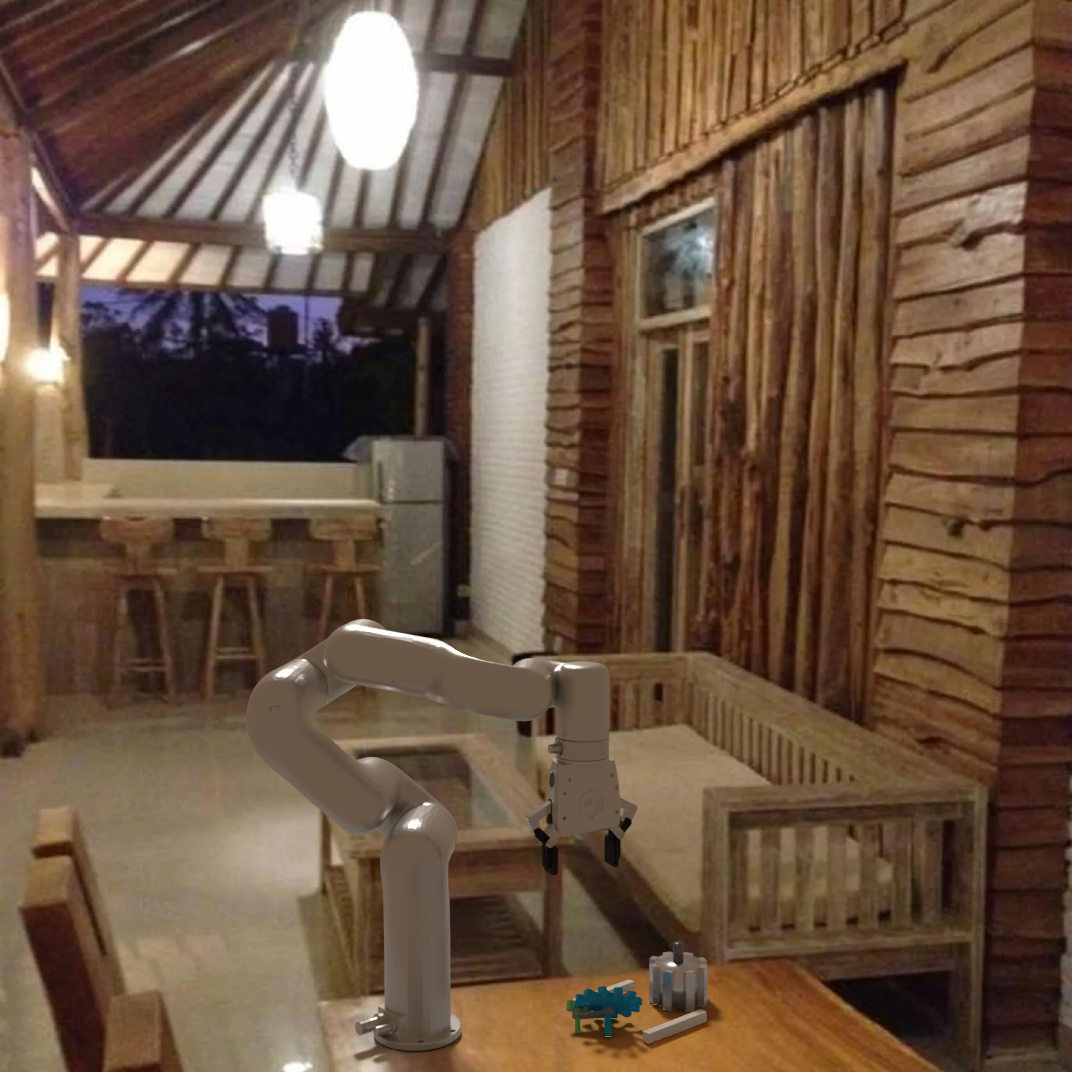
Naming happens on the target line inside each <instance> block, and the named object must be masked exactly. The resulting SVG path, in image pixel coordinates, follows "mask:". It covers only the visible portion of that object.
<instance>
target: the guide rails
mask: <svg viewBox="0 0 1072 1072" xmlns="http://www.w3.org/2000/svg"><path fill="white" fill-rule="evenodd" d="M606 987H607V990H608V991H609V992H611V993H614V987H622V988H623V993H624V992H627V991H630V990H634V989H635V987H636V985H635V981H634V980H632V979H626V980H624V981H620V982H617V983H615V984H612V985H609V986H606ZM594 991H595V992H598V989H597V990H594ZM571 1000H573V1001H576V997H575V998H574V997H573V998H572V999H571ZM707 1013H708V1012H707V1011H706V1010H704V1009H701V1008H700V1009H698V1010H694V1011H692V1012H688V1013H686V1014H684V1015H682V1016H679V1017H677V1018H674V1019H672V1020H669V1021H666V1022H664V1023H662V1024H658V1025H656V1026H654V1027H651V1028H647V1029H646V1030H642V1041H643V1040H644V1041H645V1042H648V1043H651V1042H653V1043H655V1042H654V1041H656V1040H659V1039H661V1040H663V1039H662V1038H664V1037H666V1038H668V1036H669V1037H671V1036H673V1034H674V1035H676V1034H679V1033H681V1032H683V1031H687V1030H689V1029H691V1028H695V1027H697V1026H699V1025H702V1024H704V1023H706V1022H708V1021H707V1018H708V1017H707V1016H708V1015H707ZM664 1039H665V1038H664ZM659 1041H660V1040H659ZM645 1042H644V1043H645ZM656 1042H657V1041H656ZM651 1044H652V1043H651Z"/></svg>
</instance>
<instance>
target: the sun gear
mask: <svg viewBox="0 0 1072 1072" xmlns="http://www.w3.org/2000/svg"><path fill="white" fill-rule="evenodd" d="M684 945H685V944H684V941H682V940H681V941H680V940H675V941H673V942H672V951H665V952H662V954H661V955H659V956H656V955H651V956H650V958H649V959H648V960H649V961H648V963H649V964H648V965H649V966H648V967H649V969H648V971H649V972H648V974H649V976H648V977H649V978H648V987H649V988H648V990H649V991H648V993H649V994H648V995H649V997H648V999H649V1000H648V1002H649V1001H650V1002H651V1003H652V1004H657V1005H656V1006H659V1005H661V1006H663V1007H662V1010H663V1009H665V1010H667V1011H666V1012H669V1011H671V1013H673V1011H674V1009H677V1010H676V1011H684V1012H685V1013H692V1012H695V1009H696V1008H698V1007H700V1008H705V1007H707V1005H708V979H709V978H708V971H709V970H708V968H709V967H708V960H707V959H706V958H705V957H696V956H694V953H693V952H688V951H687V952H686V951H685V950H684V948H685V947H684ZM658 1004H659V1005H658ZM661 1006H660V1007H661Z"/></svg>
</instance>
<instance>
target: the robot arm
mask: <svg viewBox="0 0 1072 1072" xmlns="http://www.w3.org/2000/svg"><path fill="white" fill-rule="evenodd" d="M610 683H611V679H610V670H609V668H608V667H607V666H606V665H605V664H603V663H601V662H594V661H570V662H562V661H553V660H550V659H544V658H543V659H541V658H535V657H529V658H527V657H526V658H524V659H521V660H518V661H517V662H515V663H514V664H513V665H510V664H504V663H499V662H493V661H488V660H483V659H480V658H476V657H472V656H469V655H467V654H464V653H462V652H460V651H458V650H456V649H455V648H453V647H452V646H451V645H450V644H448V643H447V642H445V641H442V640H440V639H438V638H431V637H425V636H420V635H414V634H411V633H403V632H399V631H393V630H389V629H387V628H385V626H383V625H382V624H381V623H379V622H376V621H375V620H371V619H365V618H362V619H360V618H359V619H355V620H352V621H348V622H347V623H346V624H343V625H341V626H339V627H338V628H336V629H335V630H334V631H333V632H331V634H330V635H329V637H327V638H326V639H324V640H322V641H321V642H319V643H318V644H316V645H315V646H313V647H312V648H310V649H309V650H307V651H306V652H304V653H302V654H299V656H297V657H295V658H294V659H292V660H290V661H289V662H287V663H286V664H284V665H281V666H279V667H277V668H276V669H273V670H272V671H270V672H268V673H267V674H266V675H264V676H263V677H261V679H260V680H259V681H258V682H257V684H256V685H255V686H254V688H253V690H252V692H251V694H250V696H249V700H248V703H247V706H246V713H245V714H246V717H245V720H246V722H245V723H246V730H247V734H248V737H249V740H250V743H251V745H252V747H253V748H254V750H255V752H256V754H258V756H259V757H260V758H261V759H262V760H263V762H264V763H265V764H267V765H268V767H270V768H271V769H272V770H273V771H275V772H276V773H277V774H278V775H279V776H280V777H282V778H283V779H285V781H287V782H288V783H289V784H290V785H291V786H292V787H294V788H295V789H296V790H297V791H298V792H299V793H300V794H301V795H302V796H303V797H304V798H306V800H308V801H309V802H311V804H313V805H314V806H315V807H316V808H317V809H319V810H320V811H321V812H322V813H323V814H325V815H326V816H327V817H328V818H329V819H330V820H331V821H333V822H334V823H335V824H336V825H337V826H338V827H339V828H341V830H344V831H345V832H347V833H348V834H350V835H351V834H352V835H356V836H364V835H369V834H372V833H373V832H375V831H378V833H380V834H381V835H382V836H383V837H384V838H385V839H384V841H383V844H382V846H381V851H380V857H379V858H380V859H379V861H380V862H379V865H380V867H379V870H380V878H381V879H380V880H381V887H382V900H383V901H382V903H383V906H382V907H383V932H384V933H383V939H384V941H383V945H384V946H383V947H384V949H383V954H384V956H383V959H384V960H383V962H384V964H383V966H384V968H383V969H384V972H383V974H384V977H383V978H384V1003H383V1004H378V1006H377V1008H378V1009H377V1012H376V1013H374V1014H373V1017H369V1018H365V1019H361V1020H358V1021H356V1022H355V1025H354V1028H355V1032H356V1034H357V1035H358V1036H363V1035H365V1034H366V1035H367V1034H369V1033H373V1036H374V1038H375V1040H376V1041H377V1042H379V1044H381V1045H383V1046H385V1047H387V1048H390V1049H394V1050H398V1051H405V1052H408V1051H409V1052H421V1051H422V1052H424V1051H428V1050H435V1049H438V1048H439V1049H441V1048H442V1047H445V1046H448V1045H450V1044H451V1043H453V1042H455V1041H456V1040H457V1039H458V1038H459V1037H460V1036H461V1033H462V1022H461V1020H460V1019H459V1017H458V1016H456V1015H454V1014H453V1013H451V921H450V920H451V916H450V915H451V912H450V904H451V903H450V890H449V889H450V888H449V864H450V863H449V862H450V860H451V858H452V855H453V852H454V851H455V848H456V845H457V842H458V839H459V838H458V837H459V831H458V827H457V822H456V819H455V818H454V816H453V815H452V814H451V812H450V811H449V809H448V808H446V806H444V805H443V803H442V802H440V801H439V800H438V799H437V798H435V797H434V795H432V794H430V793H429V792H428V791H427V790H425V789H424V788H423V787H422V786H421V785H420V784H419V783H417V782H416V781H415V780H414V779H413V778H411V777H410V776H409V775H407V773H405V772H404V771H403V770H402V769H400V768H399V767H397V765H395V764H393V762H390V761H388V760H385V759H383V758H380V757H375V756H367V757H366V756H365V757H363V758H359V759H357V760H356V759H355V758H353V757H352V756H351V755H350V754H348V753H347V752H346V750H343V748H341V747H340V746H339V745H338V744H337V743H336V742H335V741H334V740H332V739H331V738H329V737H328V736H326V735H325V734H323V733H321V732H320V731H318V730H317V729H315V728H314V727H313V726H312V725H311V724H310V722H309V720H308V719H309V718H310V717H311V716H312V715H314V714H315V713H316V712H318V711H320V710H321V709H322V708H324V707H326V706H327V705H328V704H330V703H331V702H333V701H334V700H336V699H337V698H339V697H340V696H342V695H344V694H346V693H347V692H349V691H350V690H352V689H353V688H355V687H357V686H360V687H366V688H371V689H377V690H383V691H388V692H393V693H398V694H404V695H408V696H409V695H410V696H414V697H420V698H424V699H428V700H431V701H433V702H436V703H438V704H442V705H445V706H449V707H452V708H455V709H458V710H462V711H465V712H469V713H473V714H477V715H481V716H487V717H492V718H496V719H497V718H498V719H503V720H504V719H505V720H510V721H515V722H517V721H518V722H528V721H530V722H531V721H534V720H537V719H538V718H540V717H541V716H544V714H546V712H547V711H548V710H549V709H550V708H551V709H552V708H555V711H556V717H555V718H556V719H555V720H556V731H555V732H556V737H554V742H553V743H549V744H548V745H547V751H548V754H549V755H551V754H552V755H554V756H555V758H553V759H552V761H551V764H550V768H549V773H548V778H547V787H546V795H545V802H544V803H542V804H541V805H539V806H538V807H536V808H535V809H533V810H532V811H531V812H529V813H528V814H525V817H524V821H525V822H526V824H527V826H528V828H529V830H530V833H531V835H533V836H534V837H535V838H536V840H538V841H539V843H540V844H541V864H542V865H541V866H542V867H543V870H544V871H545V872H546V873H548V874H549V875H551V876H557V875H558V873H559V848H558V847H557V846H556V843H557V842H558V840H560V837H562V835H563V834H564V835H575V834H583V833H586V834H587V833H594V832H600V831H601V832H602V831H607V834H605V836H604V855H603V856H604V858H603V859H604V862H605V863H607V864H608V865H610V866H611V867H613V868H619V865H620V863H619V862H620V859H621V850H622V848H621V844H622V843H621V840H622V839H624V837H625V833H626V832H627V830H628V829H629V828H630V827H631V825H632V823H633V819H634V817H635V815H636V813H637V810H638V806H637V805H636V804H634V803H632V802H630V801H627V800H626V799H624V798H621V795H620V783H619V776H618V770H617V764H616V762H615V760H616V759H615V758H613V757H611V756H610V701H611V699H610V697H611V694H610V692H611V691H610V690H611V689H610V687H611V685H610ZM621 809H622V810H623V812H622V816H621ZM544 818H545V823H546V827H545V828H544V830H543V829H542V827H541V825H540V821H541V820H542V819H544Z"/></svg>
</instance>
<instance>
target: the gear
mask: <svg viewBox="0 0 1072 1072" xmlns="http://www.w3.org/2000/svg"><path fill="white" fill-rule="evenodd" d="M607 987H608V986H605V985H601V986H599V987H597V990H598V992H595V991H596V990H593V989H591V988H586V989H584V990H583V994H581V993H576V995H575V998H576V1001H573V1000H572V999H568V1000H566V1009H565V1010H566V1012H571V1018H572V1019H574V1033H580V1034H581V1020H592V1019H595V1018H602V1019H604V1022H603V1023H604V1037H605V1036H612V1037H613V1034H612V1029H613V1028H612V1021H613V1020H611V1018H619V1015H620V1016H622V1017H624V1018H630V1017H631V1016H632V1015H633V1013H640V1011H641V1008H640V1007H641V1006H643V998H642V997H640V996H637V992H636V991H627V994H625V995H623V988H622V987H614V993H611V992H609V991H608V990H607Z"/></svg>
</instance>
